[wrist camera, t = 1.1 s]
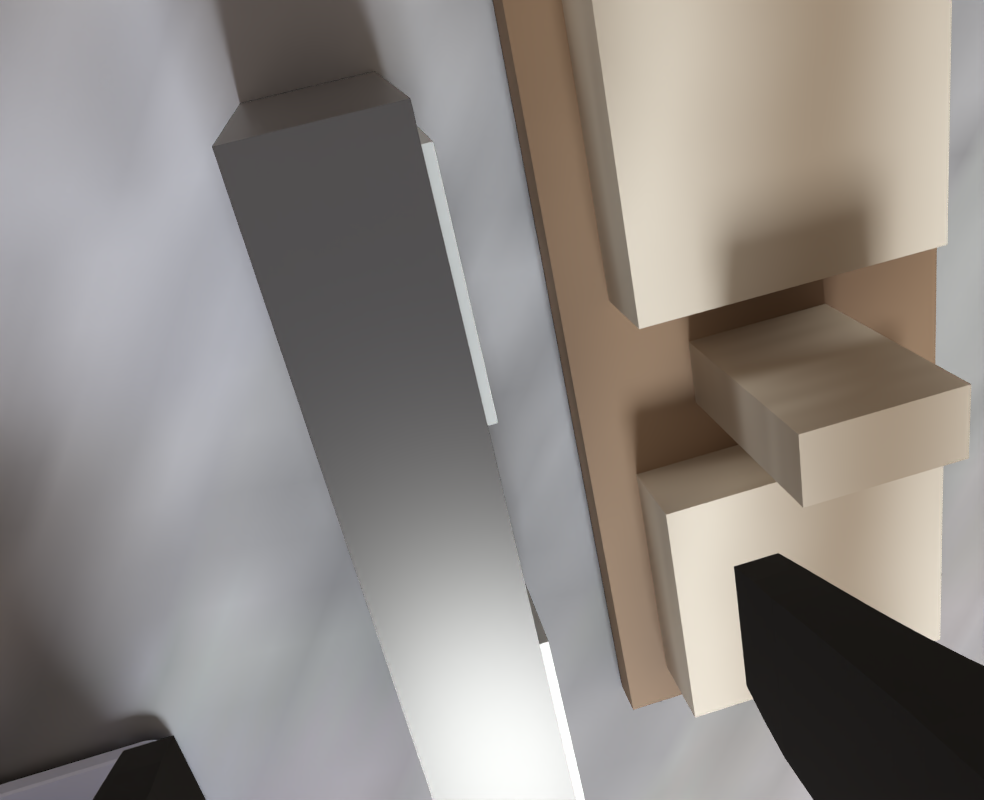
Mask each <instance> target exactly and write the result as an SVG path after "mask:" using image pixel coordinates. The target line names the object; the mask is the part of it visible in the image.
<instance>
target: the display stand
mask: <svg viewBox="0 0 984 800" xmlns="http://www.w3.org/2000/svg"><path fill="white" fill-rule="evenodd" d="M493 4H494V9H495V15H496V20H497V25H498V31H499V36H500V41H501V46H502V52H503V57H504V62H505V68H506V73H507V78H508V83H509V89H510V94H511V99H512V105H513V110H514V115H515V121H516V126H517V131H518V136H519V142H520V147H521V152H522V158H523V163H524V168H525V173H526V179H527V184H528V189H529V195H530V200H531V205H532V211H533V216H534V221H535V226H536V232H537V237H538V242H539V248H540V253H541V258H542V263H543V269H544V274H545V279H546V285H547V290H548V295H549V300H550V306H551V311H552V316H553V322H554V327H555V332H556V338H557V343H558V348H559V353H560V359H561V364H562V369H563V375H564V380H565V385H566V390H567V396H568V401H569V406H570V412H571V417H572V422H573V428H574V433H575V438H576V443H577V449H578V454H579V459H580V465H581V470H582V475H583V480H584V486H585V491H586V496H587V502H588V507H589V512H590V517H591V523H592V528H593V533H594V539H595V544H596V549H597V555H598V560H599V565H600V570H601V576H602V581H603V586H604V592H605V597H606V602H607V607H608V613H609V618H610V623H611V629H612V634H613V639H614V645H615V650H616V655H617V660H618V666H619V671H620V676H621V682H622V687H623V689H624V691H625V693H626V695H627V698H628V700H629V702H630V704H631V706H632V708H633V710H634V709H637V708H640V707H643V706H647V705H650V704H653V703H656V702H659V701H662V700H666V699H669V698H672V697H675V696H678V695H681V694H682V695H683V697H684V698H685V700H686V702H687V704H688V705H689V707H690V709H691V711H692V713H693V714H694V716H695V717H698V716H701V715H705V714H708V713H711V712H714V711H717V710H720V709H723V708H726V707H730V706H733V705H736V704H739V703H742V702H745V701H748V700H752V699H753V697H752V695H751V694H750V692H749V690H748V688H747V686H746V677H745V667H744V658H743V648H742V639H741V630H740V620H739V611H738V601H737V592H736V583H735V573H734V566H737V565H740V564H744V563H747V562H750V561H754V560H757V559H760V558H764V557H767V556H770V555H773V554H777V553H779V554H781V555H783V556H785V557H786V558H788V559H790V560H792V561H793V562H795V563H797V564H799V565H800V566H802V567H804V568H805V569H807V570H809V571H810V572H812V573H814V574H816V575H817V576H819V577H821V578H822V579H824V580H826V581H828V582H829V583H831V584H833V585H834V586H836V587H838V588H840V589H841V590H843V591H845V592H846V593H848V594H850V595H852V596H853V597H855V598H857V599H859V600H860V601H862V602H864V603H865V604H867V605H869V606H871V607H872V608H874V609H876V610H878V611H880V612H881V613H883V614H885V615H887V616H888V617H890V618H892V619H894V620H896V621H898V622H899V623H901V624H903V625H905V626H907V627H909V628H911V629H912V630H914V631H916V632H918V633H920V634H922V635H923V636H925V637H927V638H929V639H931V640H933V641H936V640H940V616H941V561H942V506H943V466H945V465H948V464H951V463H955V462H958V461H961V460H965V459H968V458H969V435H970V404H971V384H970V383H968V382H966V381H964V380H962V379H961V378H959V377H957V376H955V375H953V374H952V373H950V372H948V371H946V370H944V369H943V368H941V367H939V366H937V365H935V336H936V258H937V247H940V246H944V245H947V232H948V178H949V123H950V68H951V13H952V0H493Z"/></svg>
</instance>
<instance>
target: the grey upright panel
mask: <svg viewBox="0 0 984 800" xmlns="http://www.w3.org/2000/svg"><path fill="white" fill-rule="evenodd" d="M212 148H213V151H214V154H215V157H216V160H217V163H218V166H219V169H220V171H221V174H222V177H223V180H224V183H225V186H226V189H227V192H228V195H229V198H230V201H231V204H232V207H233V210H234V213H235V216H236V219H237V222H238V225H239V228H240V231H241V234H242V237H243V240H244V242H245V245H246V248H247V251H248V254H249V257H250V260H251V263H252V266H253V269H254V272H255V275H256V278H257V281H258V284H259V287H260V290H261V293H262V296H263V299H264V302H265V305H266V308H267V311H268V313H269V316H270V319H271V322H272V325H273V328H274V331H275V334H276V337H277V340H278V343H279V346H280V349H281V352H282V355H283V358H284V361H285V364H286V367H287V370H288V373H289V376H290V379H291V382H292V385H293V387H294V390H295V393H296V396H297V399H298V402H299V405H300V408H301V411H302V414H303V417H304V420H305V423H306V426H307V429H308V432H309V435H310V438H311V441H312V444H313V447H314V450H315V453H316V456H317V458H318V461H319V464H320V467H321V470H322V473H323V476H324V479H325V482H326V485H327V488H328V491H329V494H330V497H331V500H332V503H333V506H334V509H335V512H336V515H337V518H338V521H339V524H340V527H341V529H342V532H343V535H344V538H345V541H346V544H347V547H348V550H349V553H350V556H351V559H352V562H353V565H354V568H355V571H356V574H357V577H358V580H359V583H360V586H361V589H362V592H363V595H364V598H365V600H366V603H367V606H368V609H369V612H370V615H371V618H372V621H373V624H374V627H375V630H376V633H377V636H378V639H379V642H380V645H381V648H382V651H383V654H384V657H385V660H386V663H387V666H388V669H389V671H390V674H391V677H392V680H393V683H394V686H395V689H396V692H397V695H398V698H399V701H400V704H401V707H402V710H403V713H404V716H405V719H406V722H407V725H408V728H409V731H410V734H411V737H412V740H413V742H414V745H415V748H416V751H417V754H418V757H419V760H420V763H421V766H422V769H423V772H424V775H425V778H426V781H427V784H428V787H429V790H430V793H431V796H432V799H433V800H585V798H584V794H583V789H582V785H581V781H580V776H579V772H578V768H577V763H576V759H575V755H574V750H573V746H572V742H571V737H570V733H569V729H568V724H567V720H566V716H565V711H564V707H563V703H562V698H561V694H560V690H559V685H558V681H557V677H556V672H555V668H554V664H553V659H552V655H551V651H550V646H549V642H548V639H547V637H546V634H545V632H544V629H543V627H542V624H541V622H540V619H539V617H538V614H537V612H536V609H535V606H534V604H533V601H532V599H531V596H530V594H529V591H528V589H527V586H526V584H525V581H524V577H523V573H522V569H521V564H520V560H519V556H518V552H517V547H516V543H515V539H514V535H513V530H512V526H511V522H510V518H509V514H508V509H507V505H506V501H505V497H504V492H503V488H502V484H501V480H500V476H499V471H498V467H497V463H496V459H495V454H494V450H493V446H492V442H491V438H490V433H489V429H488V426H489V425H492V424H496V423H498V421H497V416H496V412H495V408H494V403H493V399H492V395H491V390H490V386H489V382H488V377H487V373H486V369H485V364H484V360H483V356H482V351H481V347H480V343H479V338H478V334H477V330H476V325H475V321H474V317H473V312H472V308H471V304H470V299H469V295H468V291H467V286H466V282H465V278H464V273H463V269H462V265H461V260H460V256H459V252H458V247H457V243H456V239H455V234H454V230H453V226H452V221H451V217H450V212H449V208H448V204H447V199H446V195H445V191H444V186H443V182H442V178H441V173H440V169H439V165H438V160H437V156H436V152H435V147H434V143H433V141H432V140H431V139H430V138H429V137H428V136H427V135H426V134H425V133H424V132H423V131H422V130H421V129H419V128H418V127H417V125H416V121H415V116H414V112H413V108H412V104H411V100H410V98H409V97H408V96H406V95H405V94H404V93H403V92H401V91H400V90H399V89H397V88H396V87H395V86H393V85H392V84H391V83H389V82H388V81H387V80H385V79H384V78H383V77H381V76H380V75H379V74H378V73H376V72H375V71H374V72H370V73H366V74H362V75H357V76H353V77H349V78H345V79H341V80H337V81H332V82H328V83H324V84H320V85H316V86H311V87H307V88H303V89H299V90H295V91H291V92H286V93H282V94H278V95H274V96H270V97H265V98H261V99H257V100H253V101H249V102H245V103H240V104H239V106H238V107H237V109H236V111H235V112H234V114H233V115H232V117H231V118H230V120H229V121H228V123H227V124H226V126H225V127H224V129H223V131H222V132H221V134H220V135H219V137H218V138H217V140H216V141H215V143H214V144H213V146H212Z"/></svg>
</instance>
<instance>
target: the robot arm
mask: <svg viewBox="0 0 984 800" xmlns="http://www.w3.org/2000/svg"><path fill="white" fill-rule="evenodd" d="M734 573H735V583H736V592H737V601H738V611H739V620H740V630H741V639H742V648H743V658H744V667H745V677H746V686H747V688H748V690H749V692H750V694H751V695H752V697H753V699H754V701H755V703H756V705H757V707H758V709H759V711H760V713H761V715H762V717H763V719H764V720H765V722H766V724H767V726H768V728H769V730H770V732H771V733H772V735H773V737H774V739H775V741H776V743H777V744H778V746H779V748H780V750H781V752H782V753H783V755H784V757H785V759H786V760H787V762H788V763H789V765H790V766H791V767H792V769H793V770H794V772H795V773H796V775H797V776H798V778H799V779H800V781H801V782H802V784H803V785H804V786H805V788H806V789H807V791H808V792H809V794H810V795H811V797H812V798H813V800H984V666H983V665H981V664H979V663H977V662H974V661H972V660H970V659H968V658H966V657H964V656H962V655H960V654H958V653H956V652H954V651H952V650H950V649H948V648H947V647H945V646H943V645H941V644H939V643H937V642H935V641H933V640H931V639H929V638H927V637H925V636H923V635H922V634H920V633H918V632H916V631H914V630H912V629H911V628H909V627H907V626H905V625H903V624H901V623H899V622H898V621H896V620H894V619H892V618H890V617H888V616H887V615H885V614H883V613H881V612H880V611H878V610H876V609H874V608H872V607H871V606H869V605H867V604H865V603H864V602H862V601H860V600H859V599H857V598H855V597H853V596H852V595H850V594H848V593H846V592H845V591H843V590H841V589H840V588H838V587H836V586H834V585H833V584H831V583H829V582H828V581H826V580H824V579H822V578H821V577H819V576H817V575H816V574H814V573H812V572H810V571H809V570H807V569H805V568H804V567H802V566H800V565H799V564H797V563H795V562H793V561H792V560H790V559H788V558H786V557H785V556H783V555H781V554H779V553H777V554H773V555H770V556H767V557H764V558H760V559H757V560H754V561H750V562H747V563H744V564H740V565H737V566H734ZM0 800H206V799H205V797H204V795H203V794H202V792H201V790H200V788H199V786H198V784H197V782H196V780H195V778H194V776H193V774H192V772H191V770H190V768H189V766H188V764H187V762H186V760H185V758H184V756H183V754H182V752H181V750H180V748H179V746H178V744H177V742H176V740H175V738H174V736H170V737H167V738H163V739H160V740H148V741H143V742H139V743H136V744H133V745H130V746H126V747H123V748H120V749H116V750H113V751H110V752H106V753H103V754H100V755H97V756H93V757H90V758H87V759H83V760H80V761H77V762H74V763H70V764H67V765H64V766H60V767H57V768H54V769H50V770H47V771H44V772H41V773H37V774H34V775H31V776H27V777H24V778H21V779H17V780H14V781H11V782H8V783H4V784H1V785H0Z"/></svg>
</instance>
